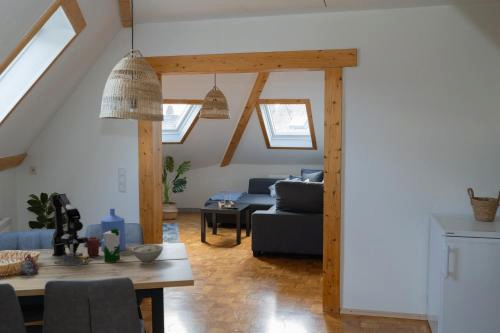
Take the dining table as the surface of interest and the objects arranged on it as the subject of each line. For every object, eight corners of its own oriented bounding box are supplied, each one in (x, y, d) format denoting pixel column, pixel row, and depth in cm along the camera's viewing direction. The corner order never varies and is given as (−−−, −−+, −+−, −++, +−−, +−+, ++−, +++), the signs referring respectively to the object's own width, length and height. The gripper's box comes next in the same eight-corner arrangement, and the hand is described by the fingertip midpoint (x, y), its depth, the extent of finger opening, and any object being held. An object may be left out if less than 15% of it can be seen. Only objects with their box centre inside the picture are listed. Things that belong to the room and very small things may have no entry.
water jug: (129, 247, 337) (128, 207, 335) (118, 253, 322) (117, 211, 320) (109, 246, 341) (107, 206, 339) (97, 251, 326) (95, 210, 324)
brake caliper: (46, 267, 282) (35, 254, 275) (34, 282, 275) (22, 269, 267) (32, 265, 287) (20, 252, 279) (20, 280, 279) (8, 267, 272)
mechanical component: (89, 253, 321) (103, 254, 320) (82, 257, 311) (97, 258, 310) (88, 235, 320) (103, 235, 319) (81, 238, 310) (96, 239, 309)
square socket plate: (54, 263, 298) (54, 255, 298) (66, 258, 310) (66, 250, 309) (81, 265, 293) (81, 257, 293) (93, 260, 305) (92, 252, 304)
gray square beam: (70, 257, 300) (69, 244, 300) (72, 256, 302) (72, 243, 302) (73, 257, 300) (72, 244, 299) (75, 256, 302) (75, 243, 301)
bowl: (148, 256, 312) (148, 241, 311) (170, 261, 301) (170, 245, 300) (125, 263, 296) (124, 247, 296) (147, 268, 285) (146, 252, 284)
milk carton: (115, 262, 299) (114, 230, 297) (102, 262, 301) (101, 230, 299) (122, 259, 307) (121, 227, 306) (109, 258, 309) (108, 227, 308)
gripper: (50, 230, 295) (51, 255, 296) (77, 231, 290) (78, 257, 291) (62, 226, 305) (63, 251, 307) (88, 228, 300) (89, 252, 302)
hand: (73, 253), depth 301 cm, fingers closed on gray square beam, 2 cm apart
